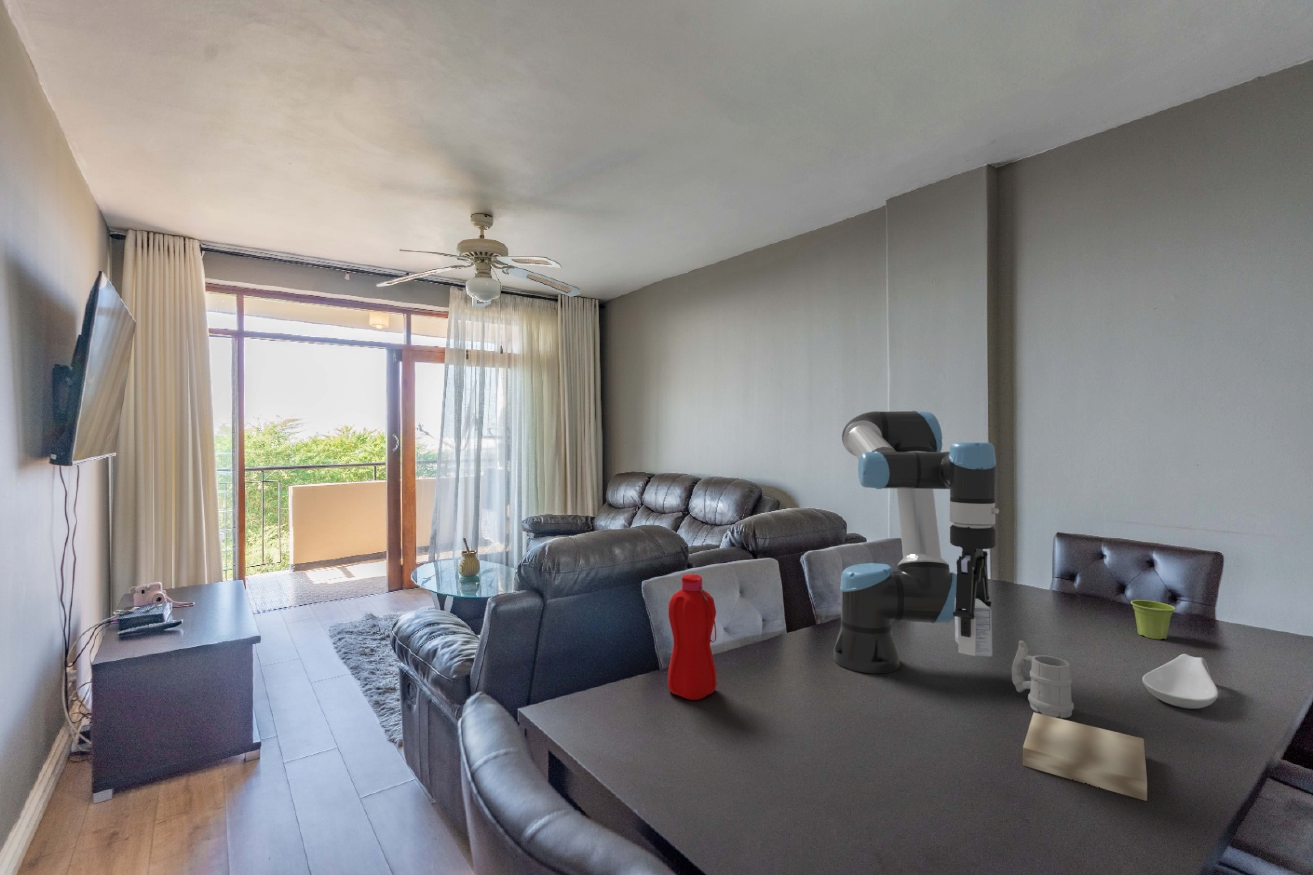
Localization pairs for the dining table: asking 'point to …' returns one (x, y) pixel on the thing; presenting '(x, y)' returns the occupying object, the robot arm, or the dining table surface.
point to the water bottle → (692, 640)
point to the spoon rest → (1182, 683)
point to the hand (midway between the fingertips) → (972, 646)
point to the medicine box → (980, 629)
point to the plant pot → (1152, 618)
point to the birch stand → (1087, 755)
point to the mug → (1044, 682)
